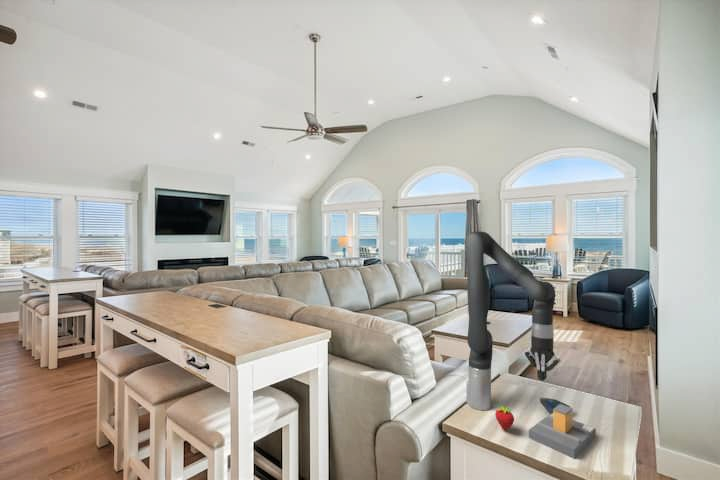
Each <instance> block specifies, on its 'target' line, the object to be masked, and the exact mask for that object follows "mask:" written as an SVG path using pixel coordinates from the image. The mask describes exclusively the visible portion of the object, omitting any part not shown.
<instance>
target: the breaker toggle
mask: <svg viewBox="0 0 720 480" xmlns="http://www.w3.org/2000/svg"><path fill="white" fill-rule="evenodd" d="M570 407H571V406H570ZM570 407H568V406H565V405H562V404H559V405H558V406H557V407H555V408H554V409H553V428H554V429H556V430H558V431H561V432H563V433H567V432H568V431H569V430H570V429H571V428H572V420H573V408H572V407H571V408H570Z"/></svg>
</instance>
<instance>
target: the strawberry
mask: <svg viewBox="0 0 720 480" xmlns="http://www.w3.org/2000/svg"><path fill="white" fill-rule="evenodd" d="M495 418H496V421H497V422H498V424H499V426H500V427H501V429H502V430H503V431H504V432H506V431H508V430H509V429H510V428H511V427H512V426H513V424H514V422H515V416H514V414H513V413H512V411H511V410H510V408H509V407H504V405H503V404H502V405H501V406H500V408H497V409H496V411H495Z"/></svg>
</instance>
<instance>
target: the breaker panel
mask: <svg viewBox="0 0 720 480" xmlns="http://www.w3.org/2000/svg"><path fill="white" fill-rule="evenodd" d="M596 436H597V428H595V427H593V426H590V425H588V424H585V423H582V422H580V421H577V420H575V419H572V428H571V429H570V430H569V431H568V432H567V433H563V432H561V431H558V430H556V429H554V428H553V413H550V414H548V415H547V416H546V417H544V418H543V419H542V420H540V421H538V422H537V423H536V424H535V425H533V426H532V427H531V428H529V429H528V439H530V438H531V440H532V439H533V441H535V442H537V443H538V444H541V445H543V446H546V447H548V448H550V449H552V450H554V451H556V452H559V453H561V454H563V455H566V456H568V457H569V458H572V459H575V458H576V457H577V456H579V454H580V453H582V451H583V450H584V449H585V448H587V446H588V445H589V444H591V442H592V441H593V440H594V439H595V438H596Z"/></svg>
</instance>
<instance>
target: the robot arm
mask: <svg viewBox="0 0 720 480" xmlns="http://www.w3.org/2000/svg"><path fill="white" fill-rule="evenodd" d="M464 249H465V250H464V251H465V257H466V266H467V267H466V269H467V270H466V272H467V273H466V275H467V279H466V281H467V285H466V288H467V290H466V291H467V292H466V293H467V308H468V310H467V311H468V330H467V340H466V341H467V345H468V347H469V349H470V350H469V351H470V352H469V357H468V380H467V381H466V395H465V396H466V399H465V400H466V402H465V403H466V404H468V406H469V407H470V408H473V409H475V410H479V411H486V410H487V411H488V410H490V409H491V407H492V405H491V404H492V362H493V361H492V360H493V343H494V342H493V336H492V333H491V332H490V330H489V329H488V314H489V309H490V303H491V284H490V283H491V282H490V279H489V277H488V275H487V272H486V269H485V265H484V264H485V263H484V262H485V261H484V255H486V256H487V257H489V258H491V259H492V260H493V261H494V262H495V263H496V264H497V265H498V267H500V269H501V271H503V272H504V274H505V275H506V276H508V277H509V278H510V279H511V280H512V281H514V282H515V283H516V284H518V285H519V287H521V289H522V290H523V291H524V293H526V294H527V295H528V296H529V297H530V298H531V299H532V300H534V301H535V305H534V307H533V308H532V311H531V312H532V313H531V327H530V328H531V329H530V330H531V331H530V332H531V333H530V334H531V336H530V341H531V342H530V344H531V347H530V350H528V351H525V352H524V355H525V357H526V358H527V360H528V362H529V363H530V364H531V366H532V367H533V368H535V369H536V371H537V372H536V373H537V374H536V375H537V378H538V380H539V381H542V382H543V381H545V380H546V379H547V376H548V375H547V374H548V372H550V371H552V370H553V369H554V368H555V367H556V366H557V365H559V364H560V363H561V358H558V357H557V356H556V355H555V351H554V336H555V333H554V320H553V314H554V306H555V302H556V301H555V300H556V290H555V287H554V285H553V284H552V283H551V282H548V281H540V280H538V279H537V278H536V277H535V276H534V273H533V271H532V270H530V269H529V268H527V267H526V266H525V265H524V264H522V263H521V262H520V261H519V260H517V259H515V257H513V256H512V255H511V254H510V253H508V252H507V251H506V250H505V249H504V248H503V247H501V246H500V244H499V243H498V242H497V241H496V239H494V238H493V237H492V236H491V235H490V234H489V233H487V232H486V231H470V232H469V233H468V234H467V235H466V236H465V239H464ZM550 361H551V364H549V362H550Z"/></svg>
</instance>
